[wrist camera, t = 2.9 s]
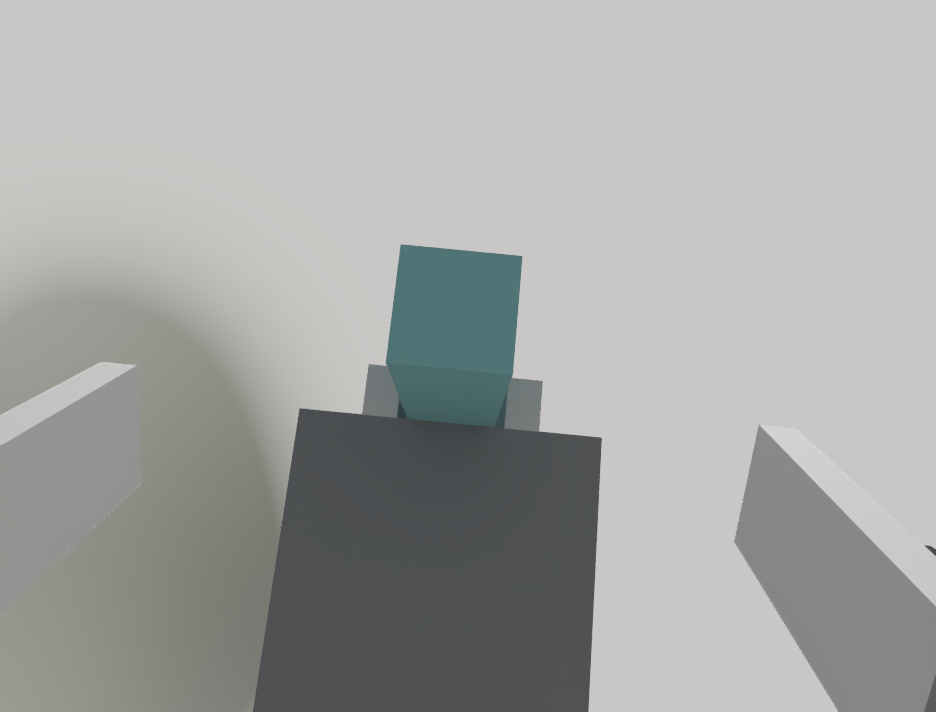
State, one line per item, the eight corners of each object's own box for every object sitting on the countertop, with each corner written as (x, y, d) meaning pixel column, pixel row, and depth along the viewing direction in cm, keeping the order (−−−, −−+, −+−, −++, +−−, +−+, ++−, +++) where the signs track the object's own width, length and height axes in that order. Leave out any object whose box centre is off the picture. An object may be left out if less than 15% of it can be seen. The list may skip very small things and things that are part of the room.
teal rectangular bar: (512, 374, 23) (522, 256, 24) (385, 362, 23) (400, 244, 24) (481, 461, 48) (486, 402, 49) (421, 455, 48) (427, 396, 49)
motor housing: (561, 1267, 26) (604, 386, 34) (173, 1228, 26) (307, 358, 34) (520, 995, 41) (556, 434, 49) (277, 970, 42) (353, 415, 49)
